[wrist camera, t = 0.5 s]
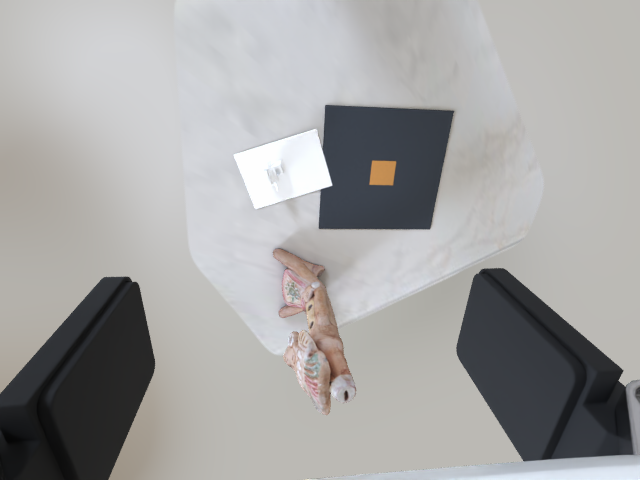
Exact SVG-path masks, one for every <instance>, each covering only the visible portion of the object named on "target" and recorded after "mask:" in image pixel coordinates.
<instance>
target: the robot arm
mask: <svg viewBox="0 0 640 480" xmlns="http://www.w3.org/2000/svg"><path fill="white" fill-rule="evenodd" d="M457 355H458V357H459V360H460V361H461V363H462V364H463V366H464V368H465V369H466V370H467V372H468V374H469V376H470V377H471V379H472V380H473V382H474V383H475V385H476V387H477V388H478V390H479V391H480V393H481V395H482V396H483V398H484V399H485V401H486V402H487V404H488V406H489V407H490V409H491V410H492V412H493V413H494V415H495V417H496V418H497V420H498V421H499V423H500V425H501V426H502V428H503V429H504V431H505V432H506V434H507V436H508V437H509V439H510V440H511V442H512V443H513V445H514V447H515V448H516V450H517V451H518V453H519V455H520V456H521V458H522V459H523V461H524V462H511V463H498V464H486V465H473V466H461V467H447V468H435V469H423V470H411V471H399V472H387V473H375V474H363V475H351V476H341V477H328V478H316V479H304V480H640V380H635V381H631V382H630V383H628V384H627V385H626V387H625V386H624V385H623V384H622V383H620V382H619V381H618V380H619V378H620V376H621V374H622V372H623V370H622V369H621V368H620V367H619V366H618V365H617V364H615V363H614V362H613V361H612V360H611V359H609V358H608V357H607V356H606V355H605V354H604V353H602V352H601V351H600V350H599V349H598V348H597V347H595V346H594V345H593V344H592V343H591V342H590V341H588V340H587V339H586V338H585V337H584V336H583V335H581V334H580V333H579V332H578V331H577V330H576V329H574V328H573V327H572V326H571V325H569V323H567V322H566V321H565V320H564V319H563V318H562V317H560V316H559V315H558V314H557V313H556V312H555V311H553V310H552V309H551V308H550V307H548V305H546V304H545V303H544V302H543V301H542V300H541V299H539V298H538V297H537V296H536V295H535V294H534V293H532V292H531V291H530V290H529V289H528V288H527V287H525V286H524V285H523V284H522V283H521V282H519V281H518V280H517V279H516V278H515V277H514V276H513V275H511V274H510V273H509V272H508V271H507V270H505V269H503V268H502V269H501V268H498V269H497V268H494V269H482V270H481V271H480V272H479V274H476V275H475V276H474V278H473V282H472V286H471V290H470V295H469V298H468V302H467V306H466V310H465V314H464V318H463V322H462V326H461V331H460V335H459V339H458V343H457ZM154 369H155V359H154V354H153V349H152V345H151V340H150V335H149V330H148V326H147V321H146V316H145V311H144V307H143V302H142V297H141V292H140V288H139V285H138V283H137V282H132V281H131V279H130V278H129V277H104V278H103V279H101V280H100V282H99V283H98V284H97V285H96V286H95V287H94V288H93V290H92V291H91V292H90V293H89V294H88V295H87V296H86V297H85V299H84V300H83V301H82V302H81V303H80V304H79V305H78V306H77V308H76V309H75V310H74V311H73V312H72V313H71V314H70V316H69V317H68V318H67V319H66V320H65V321H64V322H63V323H62V325H61V326H60V327H59V328H58V329H57V330H56V331H55V332H54V334H53V335H52V336H51V337H50V338H49V339H48V340H47V342H46V343H45V344H44V345H43V346H42V347H41V348H40V350H39V351H38V352H37V353H36V354H35V355H34V356H33V357H32V359H31V360H30V361H29V362H28V363H27V364H26V365H25V367H24V368H23V369H22V370H21V371H20V372H19V373H18V374H17V375H16V377H15V378H14V379H13V380H12V381H11V382H10V383H9V385H8V386H7V387H6V388H5V389H4V390H3V391H2V392H1V394H0V480H108V479H109V477H110V474H111V472H112V469H113V467H114V465H115V462H116V460H117V458H118V456H119V453H120V451H121V448H122V446H123V444H124V441H125V439H126V437H127V435H128V432H129V430H130V427H131V425H132V423H133V421H134V418H135V416H136V413H137V411H138V409H139V406H140V404H141V402H142V399H143V397H144V395H145V392H146V390H147V388H148V385H149V383H150V381H151V378H152V376H153V373H154Z"/></svg>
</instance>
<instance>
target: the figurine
mask: <svg viewBox="0 0 640 480" xmlns="http://www.w3.org/2000/svg"><path fill="white" fill-rule="evenodd" d="M273 255H274V257H275V258H276V259H277V260H278V261H280V262H281V263H282V264H284V265H285V266H287V267H288V269H286V270H285V272H284V275H283V280H282V291H283V297H284V301H285V303H286V304H287V306H285V307H283V308H281V309H280V310H279V316H280V317H281V318H285V317H289V316H292V315H295V314H298V313H300V312H302V311H304V312H305V314H306V315H307V320H308V326H309V333H308V332H307V331H305V330H302V331H301V332H300V333H298V332H292V333H291V334H290V336H289V342H288V347H287V349H286V351H285V353H284V355H283V358H284V361H285V362H286V363H287V364H288V365H289V366H290V367H292V368H293V369H294V370H295V372H296V375H297V379H298V382H299V384H300V385H301V387H302V388H303V390H304V391H305V392H306V393H307V394H308V395H309V396H310V397H311V399H312V402H313V404H314V406H315V407H316V409H317V410H318V411H319V412H321V413H322V414H324V415H328V414H329V412H330V406H331V401H330V394H332V395H333V397H334V398H335V399H336V400H338V401H339V402H341V403H347V402H349V401H351V400H352V399H353V398H354V397H355V395H356V387H355V383H354V380H353V377H352V375H351V373H350V371H349V369H348V365H347V362H346V359H345V357H344V352H343V343H342V340H341V338H340V337H339V333H338V328H337V324H336V320H335V316H334V313H333V309H332V306H331V303H330V300H329V297H328V294H327V291H326V287H325V286H324V284H323V283H322V282H321V281H320V280H319V279H318V278H317V276H320V275H321V274H322V273H323V271H324V267H323V266H319V265H314V264H311V263H309V262H306V261H304V260H302V259H300V258H299V257H297V256H295V255H293V254H291V253H288V252H286V251H284V250H282V249H275V250H274V251H273Z"/></svg>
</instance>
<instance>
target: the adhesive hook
mask: <svg viewBox="0 0 640 480" xmlns="http://www.w3.org/2000/svg"><path fill="white" fill-rule="evenodd" d="M263 168H264V169H263V173H264V176H265V179H266V183H267V184H268V186H269V187H274V186H275V190H276V191H277V192H279V191H280V188H279V183H280V179H279V178H280V177H281V176H283V175H284V173H285V169H284V162H283V159H282V158H281V159H280V160H278V161H276V162H275V163H273V164H272V161H271V160H270V161H265V162H264V163H263Z"/></svg>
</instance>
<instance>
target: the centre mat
mask: <svg viewBox="0 0 640 480" xmlns="http://www.w3.org/2000/svg"><path fill="white" fill-rule="evenodd" d="M453 113H454V111H442V110H420V109H398V108H376V107H354V106H332V105H326V106H325V125H324V143H323V154H324V157H325V161H326V165H327V168H328V172H329V175H330V179H331V182H332V186H330V187H326V188H323V189H321V199H320V217H319V229H430V226H431V222H432V217H433V212H434V207H435V202H436V197H437V192H438V187H439V182H440V177H441V172H442V167H443V162H444V157H445V152H446V147H447V143H448V138H449V133H450V128H451V123H452V118H453Z"/></svg>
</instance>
